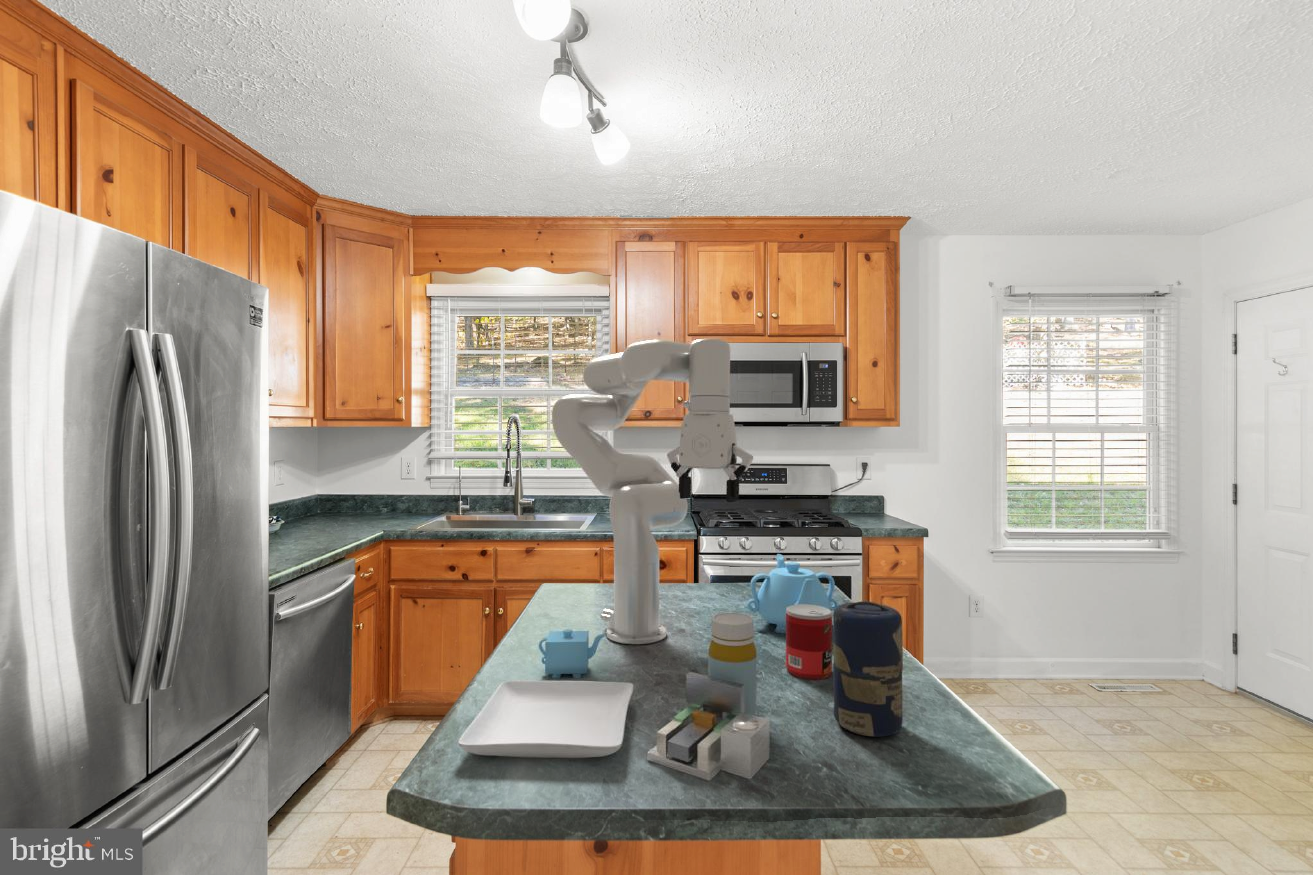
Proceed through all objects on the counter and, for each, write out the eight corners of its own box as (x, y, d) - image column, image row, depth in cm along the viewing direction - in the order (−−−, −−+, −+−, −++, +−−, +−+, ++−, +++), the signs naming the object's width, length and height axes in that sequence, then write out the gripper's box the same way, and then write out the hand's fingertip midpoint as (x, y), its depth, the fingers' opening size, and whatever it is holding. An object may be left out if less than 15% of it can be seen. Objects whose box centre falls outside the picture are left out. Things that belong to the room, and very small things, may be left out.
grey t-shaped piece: (649, 749, 79) (649, 698, 79) (690, 717, 89) (690, 671, 89) (707, 768, 75) (708, 713, 75) (744, 733, 84) (744, 684, 84)
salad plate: (501, 699, 99) (501, 677, 99) (634, 701, 98) (634, 679, 98) (453, 769, 78) (453, 742, 78) (622, 773, 77) (622, 746, 77)
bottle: (762, 715, 92) (762, 615, 92) (747, 735, 86) (747, 628, 86) (718, 706, 96) (718, 609, 96) (701, 725, 89) (701, 621, 89)
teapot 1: (607, 665, 113) (607, 624, 113) (606, 678, 107) (606, 634, 107) (540, 666, 112) (540, 625, 112) (536, 679, 106) (536, 636, 106)
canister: (895, 749, 83) (895, 614, 83) (824, 731, 88) (824, 604, 88) (908, 721, 91) (908, 598, 91) (843, 706, 96) (843, 590, 96)
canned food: (833, 681, 106) (833, 617, 106) (785, 677, 107) (785, 614, 107) (830, 665, 113) (830, 605, 113) (785, 662, 115) (785, 602, 115)
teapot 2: (778, 610, 149) (778, 552, 149) (853, 628, 135) (853, 564, 135) (736, 624, 138) (736, 561, 138) (812, 645, 124) (813, 575, 124)
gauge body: (647, 760, 80) (647, 718, 80) (688, 727, 89) (688, 690, 89) (740, 791, 73) (740, 745, 73) (774, 752, 82) (774, 712, 82)
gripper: (658, 406, 116) (657, 498, 116) (743, 405, 106) (742, 505, 106) (679, 408, 122) (678, 495, 122) (761, 407, 112) (759, 501, 113)
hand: (708, 499), depth 114 cm, fingers open, 9 cm apart
